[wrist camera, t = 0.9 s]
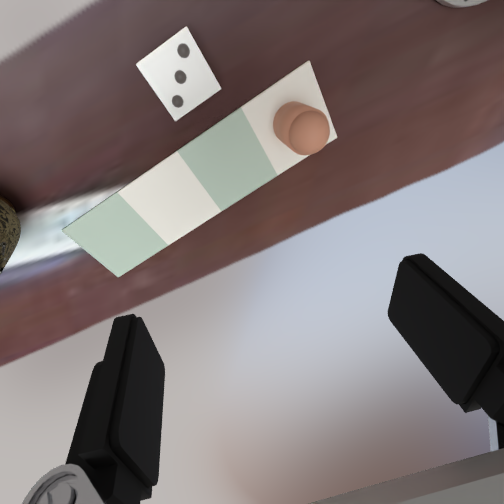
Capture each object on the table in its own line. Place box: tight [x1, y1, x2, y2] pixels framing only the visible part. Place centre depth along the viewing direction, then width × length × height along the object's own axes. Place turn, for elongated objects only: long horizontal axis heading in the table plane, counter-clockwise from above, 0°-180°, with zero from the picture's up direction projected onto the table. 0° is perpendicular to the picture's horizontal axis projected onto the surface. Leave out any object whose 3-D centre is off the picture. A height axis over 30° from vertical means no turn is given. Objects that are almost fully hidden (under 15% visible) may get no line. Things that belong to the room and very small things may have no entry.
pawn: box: [273, 101, 330, 155], centre depth 27 cm, size 4×4×6 cm
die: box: [136, 26, 221, 121], centre depth 24 cm, size 4×4×5 cm
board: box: [62, 60, 337, 277], centre depth 31 cm, size 30×8×1 cm, turn 120°
